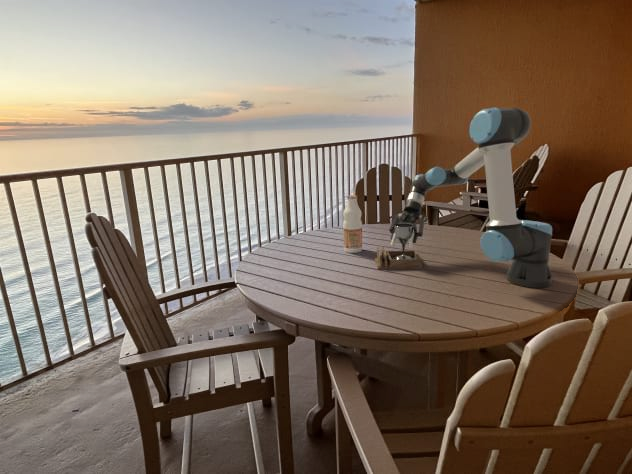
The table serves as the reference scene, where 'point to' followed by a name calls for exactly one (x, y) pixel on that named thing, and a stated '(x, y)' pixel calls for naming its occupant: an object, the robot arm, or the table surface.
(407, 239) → the silver goblet
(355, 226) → the fruit juice
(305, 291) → the table surface
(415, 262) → the wooden tray
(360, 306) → the table surface
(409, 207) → the robot arm
